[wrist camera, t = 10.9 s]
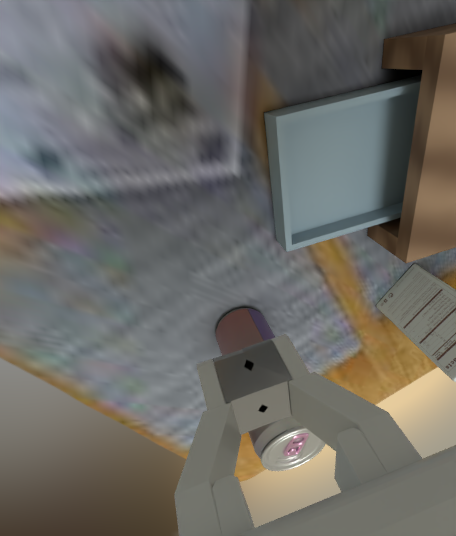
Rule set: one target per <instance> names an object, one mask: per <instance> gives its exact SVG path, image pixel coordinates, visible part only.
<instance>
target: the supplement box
mask: <svg viewBox="0 0 456 536" xmlns="http://www.w3.org/2000/svg"><path fill="white" fill-rule="evenodd" d="M376 307H377V308H378V309H379V310H380V311H381V312H382V313H383V314H384V315H385V316H386V317H388V318H389V319H390V320H391V321H392V322H393V323H394V324H395V325H396V326H397V327H398V328H399V329H400V330H401V331H402V332H403V333H404V334H405V335H406V336H407V337H408V338H409V339H410V340H411V341H412V342H413V343H414V344H415V345H416V346H417V347H418V348H419V349H420V350H422V351H423V352H424V353H425V354H426V355H427V356H428V357H429V358H430V359H431V360H432V361H433V362H434V363H435V364H436V365H437V366H438V367H439V368H440V369H441V370H442V371H443V372H444V373H445V374H447V375H448V376H449V377H450V378H451V379H452V380H453V381H455V382H456V290H455V289H453V288H452V287H450V286H449V285H447V284H446V283H444V282H443V281H441V280H440V279H438V278H437V277H435V276H434V275H432V274H430V273H429V272H427V271H426V270H424V269H423V268H421V267H420V266H418V265H417V264H414V265H412V266H411V267H410V268H409V269H408V270H407V271H406V273H405V274H404V275H403V276H402V277H401V278H400V279H399V280H398V281H397V282H396V283H395V285H394V286H393V287H392V288H391V289H390V290H389V291H388V292H387V293H386V294H385V296H384V297H383V298H382V299H381V300H380V301H379V302H378V303H377V305H376Z"/></svg>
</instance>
